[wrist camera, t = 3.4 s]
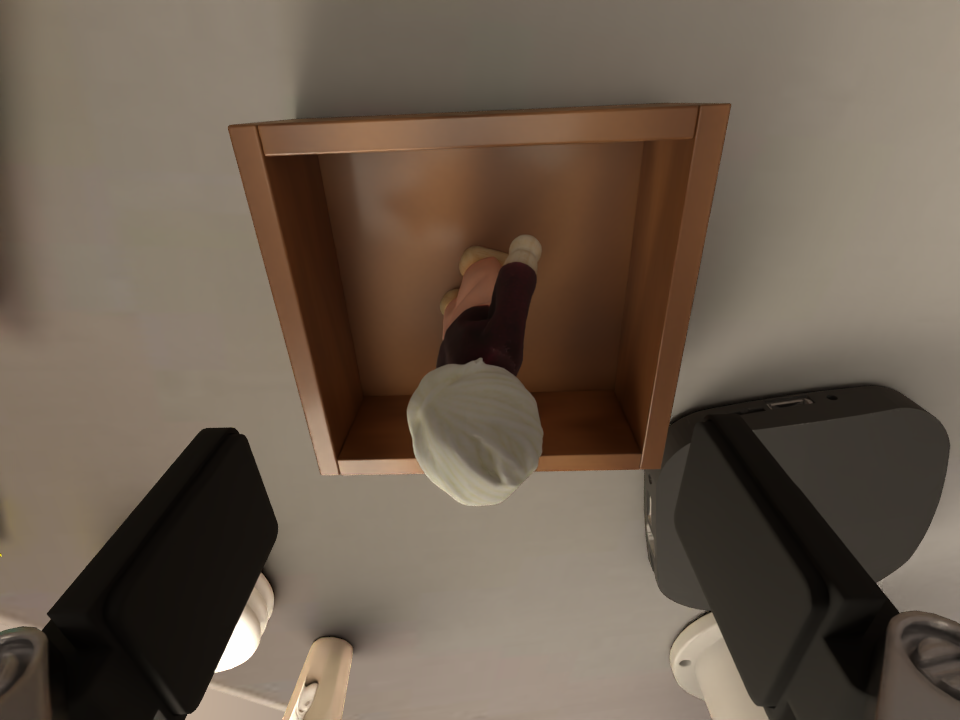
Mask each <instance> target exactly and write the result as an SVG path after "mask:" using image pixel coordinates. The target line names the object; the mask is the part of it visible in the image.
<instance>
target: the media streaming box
mask: <svg viewBox="0 0 960 720" xmlns="http://www.w3.org/2000/svg"><path fill="white" fill-rule="evenodd" d="M708 414H738V415H740V416H741V417H742V418H743V419H744V421H745V422H746V423H747V424H748V426H749V427H750V428H751V429H752V431H753V432H754V433H755V434H756V436H757V437H758V438H759V439H760V441H761V442H762V443H763V444H764V446H765V447H766V448H767V449H768V451H769V452H770V453H771V454H772V456H773V457H774V458H775V459H776V461H777V462H778V463H779V464H780V466H781V467H782V468H783V469H784V471H785V472H786V473H787V474H788V476H789V477H790V478H791V479H792V481H793V482H794V483H795V484H796V485H797V486H798V487H799V488H800V489H801V491H802V492H803V493H804V494H805V496H806V497H807V498H808V499H809V501H810V502H811V503H812V504H813V506H814V507H815V508H816V509H817V511H818V512H819V513H820V514H821V516H822V517H823V518H824V519H825V521H826V522H827V523H828V524H829V526H830V527H831V528H832V529H833V530H834V532H835V533H836V534H837V535H838V537H839V538H840V539H841V540H842V542H843V543H844V544H845V545H846V547H847V548H848V549H849V550H850V552H851V553H852V554H853V555H854V557H855V558H856V559H857V560H858V562H859V563H860V564H861V565H862V567H863V568H864V569H865V570H866V572H867V573H868V574H869V575H870V577H871V578H872V579H873V580H874V582H875V583H876V582H878V581H880V580H882V579H883V578H885V577H887V576H888V575H890V574H891V573H893V572H894V571H895V570H897V569H898V568H899V567H901V566H902V565H903V564H904V563H906V562H907V561H908V560H909V559H910V557H911V556H912V555H913V553H914V552H915V550H916V549H917V547H918V546H919V544H920V543H921V541H922V539H923V538H924V536H925V534H926V532H927V530H928V528H929V526H930V524H931V521H932V519H933V517H934V514H935V511H936V509H937V506H938V503H939V500H940V497H941V493H942V489H943V486H944V481H945V476H946V472H947V465H948V459H949V450H950V443H949V438H948V435H947V432H946V430H945V428H944V427H943V425H942V424H941V422H940V421H939V420H938V419H937V418H936V417H934V416H933V415H931V414H930V413H929V412H927V411H926V410H924V409H923V408H921V407H920V406H919V405H917V404H916V403H914V402H913V401H911V400H910V399H909V398H907V397H906V396H904V395H903V394H901V393H900V392H898V391H895V390H893V389H890V388H886V387H880V386H863V387H853V388H844V389H835V390H827V391H819V392H811V393H803V394H796V395H789V396H782V397H776V398H769V399H763V400H757V401H751V402H745V403H739V404H734V405H728V406H723V407H718V408H712V409H707V410H702V411H698V412H695V413H692V414H690V415H688V416H686V417H684V418H682V419H680V420H678V421H676V422H675V423H673V424H672V425H671V426H669V428H668V433H667V438H666V443H665V449H664V454H663V459H662V464H661V469H645V475H644V511H645V530H646V541H647V550H648V557H649V561H650V564H651V567H652V569H653V571H654V574H655V578H656V581H657V584H658V587H659V589H660V591H661V592H662V593H663V594H664V595H665V596H666V597H668V598H669V599H671V600H672V601H674V602H676V603H679V604H681V605H684V606H687V607H691V608H695V609H700V610H706V611H711V609H710V607H709V604H708V602H707V600H706V598H705V595H704V593H703V591H702V588H701V586H700V584H699V582H698V579H697V577H696V575H695V573H694V570H693V568H692V566H691V564H690V561H689V559H688V557H687V555H686V552H685V550H684V548H683V546H682V543H681V541H680V539H679V536H678V534H677V532H676V529H675V525H674V511H675V507H676V503H677V499H678V494H679V490H680V486H681V482H682V477H683V473H684V469H685V465H686V460H687V456H688V452H689V448H690V443H691V439H692V435H693V431H694V427H695V424H696V423H697V422H702V421H703V419H704V417H705V416H706V415H708Z"/></svg>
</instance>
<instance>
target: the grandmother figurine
mask: <svg viewBox="0 0 960 720" xmlns="http://www.w3.org/2000/svg"><path fill="white" fill-rule="evenodd" d="M541 253H542V247H541V244H540V243H539V241H538V240H537V239H536V238H535V237H533V236H531V235H520V236H518V237H517V238H515V239H514V240H513V241H512V243H511V245H510V248H509V254H507V253H504V252H501V251H497V250H493V249H489V248H486V247H481V246H472V247H470V248H468V249H466V250H465V251H464V253H463V255H462V257H461V259H460V262H459V270H460V273H461V275H462V276H463V279H462V283H461V286H460V289H453V290H450V291H448V292H447V293H446V294H445V295H444V296H443V298H442V300H441V302H440V310H441V312H442V314H443V315H444V319H443V336H442V339H443V341H442V343H441V346H440V349H439V354H438V358H437V364H436V369H435V370H433V371H431V372H429V373H428V374H426V375H425V376H424V377H423V379H422V380H421V382H420V384H419V386H418V388H417V389H416V390H415V392H414V393H413V395H412V397H411V399H410V401H409V404H408V407H407V420H408V426H409V430H410V433H411V436H412V439H413V450H414V454H415V457H416V459H417V461H418V463H419V465H420V467H421V468H422V470H423V471H424V472H425V474H426V475H427V477H428V478H429V479H430V480H431V481H432V482H433V483H434V484H435V485H437V486H438V487H439V488H441V489H442V490H444V491H445V492H447V493H448V494H449V495H450V496H451V497H452V498H453V499H455V500H456V501H458V502H459V503H461V504H464V505H468V506H483V505H496V504H499V503H501V502H502V501H504V500H505V499H507V498H508V497H509V496H510V495H511V494H512V493H513V492H514V491H516V489H517V488H518V487H519V486H520V485H521V484H522V483H523V482H524V481H525V480H526V479H527V478H528V477H529V476H530V475H531V474H532V473H533V472H534V471H535V470H536V469H537V467H538V462H539V457H540V456H541V454H542V443H543V440H542V438H543V433H544V432H543V429H542V427H541V423H540V418H539V413H538V408H537V403H536V400H535V398H534V397H533V396H532V395H531V393H530V392H529V391H528V390H527V389H526V388H525V387H524V385H523V384H522V383H521V382H520V380H519V379H518V378H517V377H516V376H517V374H518V372H519V369H520V367H521V365H522V361H523V349H524V336H525V328H526V320H527V316H528V311H529V307H530V303H531V299H532V295H533V293H534V291H535V288H536V283H537V275H536V274H537V268H538V265H537V262H538V261H539V259H540V257H541Z"/></svg>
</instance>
